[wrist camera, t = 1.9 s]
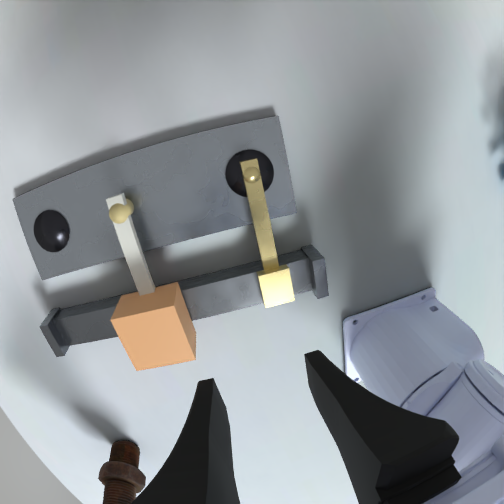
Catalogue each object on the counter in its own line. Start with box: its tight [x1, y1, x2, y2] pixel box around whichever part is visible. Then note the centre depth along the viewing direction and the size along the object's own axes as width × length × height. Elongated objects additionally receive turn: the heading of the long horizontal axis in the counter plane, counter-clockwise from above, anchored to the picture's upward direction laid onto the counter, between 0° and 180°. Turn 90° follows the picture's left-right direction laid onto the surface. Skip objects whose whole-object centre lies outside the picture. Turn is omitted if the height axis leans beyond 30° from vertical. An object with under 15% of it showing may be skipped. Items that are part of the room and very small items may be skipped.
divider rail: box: [40, 158, 329, 357], centre depth 20 cm, size 21×10×3 cm, turn 102°
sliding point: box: [106, 193, 196, 371], centre depth 18 cm, size 4×10×4 cm, turn 12°
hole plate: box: [13, 116, 297, 280], centre depth 19 cm, size 19×6×1 cm, turn 102°
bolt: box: [98, 440, 146, 504], centre depth 21 cm, size 6×5×15 cm
